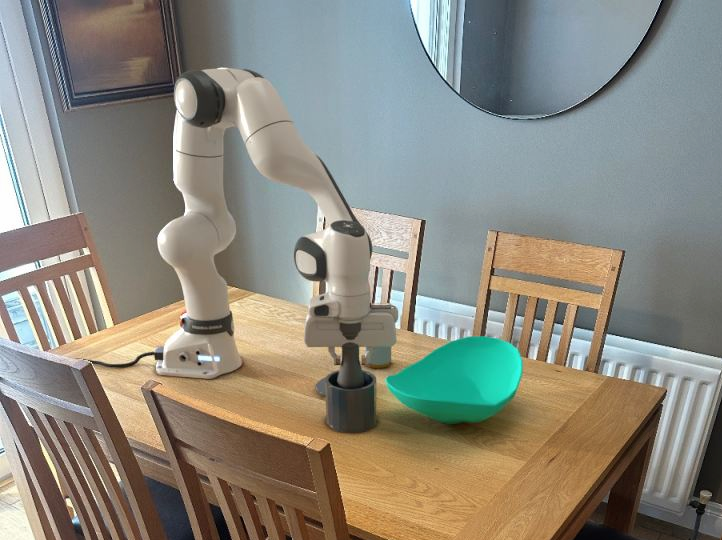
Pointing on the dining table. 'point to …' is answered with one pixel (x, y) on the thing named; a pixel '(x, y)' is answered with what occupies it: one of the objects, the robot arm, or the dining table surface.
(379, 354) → the bottle
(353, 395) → the crock
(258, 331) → the dining table surface
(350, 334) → the candle holder
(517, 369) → the table top decor
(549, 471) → the dining table surface
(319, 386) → the lid
